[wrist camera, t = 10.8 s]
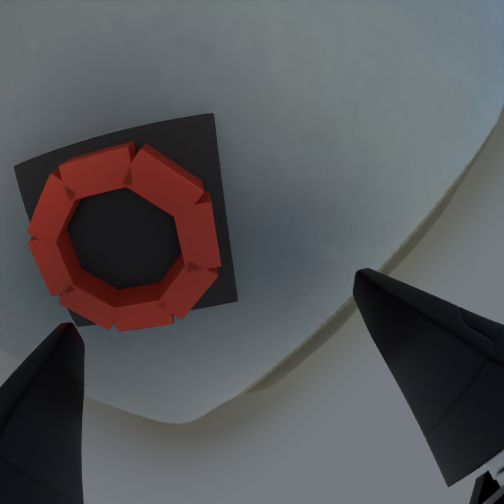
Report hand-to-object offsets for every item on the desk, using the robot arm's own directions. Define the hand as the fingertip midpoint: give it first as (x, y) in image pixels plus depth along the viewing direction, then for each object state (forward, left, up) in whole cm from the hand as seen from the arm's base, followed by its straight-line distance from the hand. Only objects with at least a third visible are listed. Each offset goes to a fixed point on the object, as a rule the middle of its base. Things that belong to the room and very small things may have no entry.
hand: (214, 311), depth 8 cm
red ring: (-4, 0, -6) cm, 7 cm away
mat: (-4, 0, -7) cm, 8 cm away
